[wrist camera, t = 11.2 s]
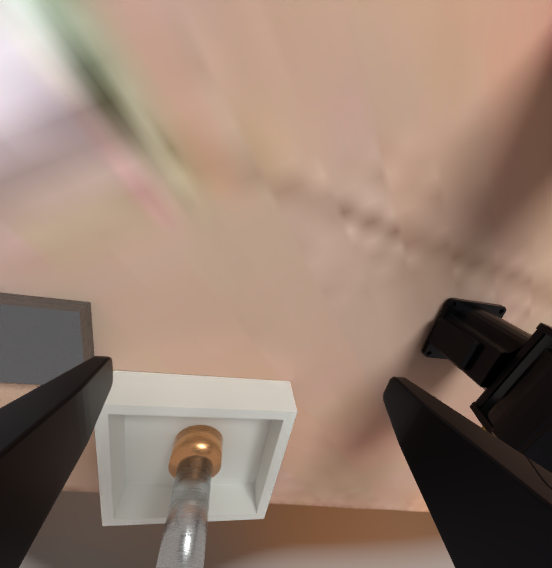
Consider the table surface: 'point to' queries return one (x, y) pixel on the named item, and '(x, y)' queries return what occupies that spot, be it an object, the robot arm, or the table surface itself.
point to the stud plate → (42, 337)
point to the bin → (175, 417)
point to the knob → (190, 496)
